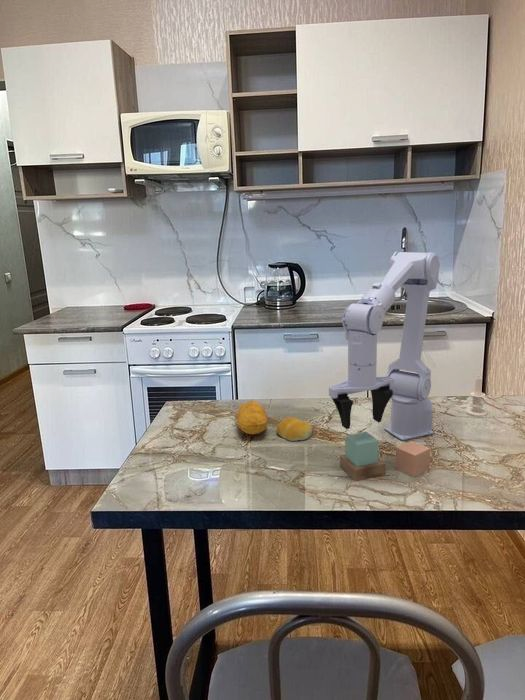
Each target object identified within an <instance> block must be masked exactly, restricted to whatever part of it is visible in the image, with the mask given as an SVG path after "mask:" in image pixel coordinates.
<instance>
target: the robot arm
mask: <svg viewBox="0 0 525 700" xmlns="http://www.w3.org/2000/svg"><path fill="white" fill-rule="evenodd" d="M439 260H440V259H439V256H438V255H437V253H436V252H434V251H433V252H432V251H431V252H416V251H415V252H411V251H410V252H409V251H398V250H397V251H395V252H393V254H392V256H391V257H390V259H389V265H388V266H389V270H388V271H387V272H386V274H385V276H384V277H383V279H382V280H381V281H380V282H379V281H378V282H373V283H372V285H371V286H370V287H369V288H368V289H367V291H366V292H365V293H364V294H363V295H362V297H361V298H360V299H359V300H358V301H357V302H356V303H351V304H350V305H348V306H346V307H345V309H344V312H343V316H342V319H341V321H342V327H343V329H344V332H345V333H344V334H345V335H344V336H345V337H344V338H345V340H346V341H347V380H345V381H343V382H340V383H337V384H334V385H331V386H328V396H329V397H330V398H331V400H332V401H333V403H334V405H335V407H336V409H337V412H338V415H339V418H340V423H341V427H343V428H344V429H346V430H349V429H350V428H351V414H352V406H353V403H354V401H353V400H352V399H350V396H348V395H353V394H357V393H362V392H363V393H364V392H368V391H370V394H371V401H372V420H374V421H376V422H377V423H382V419H383V416H384V413H385V410H386V407H387V405H388V403H389V401H390V399H391V413H390V414H391V416H390V417H391V418H390V425H386V426H383V430H385V431H386V432H387V433H389V434H391V435H392V436H393V437H394V436H395V437H396V438H397V439H398V440H401V441H406V440H411V439H415V438H420V437H425V436H428V435H433V434H435V433H434V432H435V431H434V430H433V429H432V428H433V411H434V410H433V404H432V401H431V399H430V398H429V395H430V393H431V390H432V381H431V379H432V378H431V376H432V373H431V372H432V370H431V369H430V368H429V367H428V366H427V365H426V364H425V363H424V362H423V360H422V359H421V357H422V350H423V343H424V336H425V330H426V329H425V328H426V327H425V326H426V322H427V321H426V320H427V315H428V313H427V312H428V306H429V298H430V293H431V291H433V290H436V289H437V286H438V281H439V274H440V273H439V272H440V261H439ZM400 288H402V289H404V290H405V292H406V293H407V297H406V304H405V311H404V312H405V313H404V321H403V327H402V333H401V334H402V336H401V343H400V350H399V358H397V359H395V360H394V361H392V362H391V363H390V364H388V368H387V371H386V375H385V376H377V361H378V359H377V356H378V354H377V351H378V333H379V332H380V331H381V330H382V326H383V322H384V320H385V318H386V313H387V311H389V309H390V307H391V306H392V305H393V303H394V302H395V301H396V294H395V293H396V292H397V291H398V290H399V289H400Z"/></svg>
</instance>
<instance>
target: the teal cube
mask: <svg viewBox="0 0 525 700" xmlns="http://www.w3.org/2000/svg"><path fill="white" fill-rule="evenodd" d="M344 438H345V439H344V442H345V452H344V453H345V454H344V455H345V457H346V458H347V459H348V460H350V461H351V462H352V463H353V464H354V465H355V466H357V467H360V466H364V465H369V464H373V463H378V458H379V439H377V438H376V437H375V436H373V435H371V434H370V433H368V432H367V431H362V432H357V433H351V434H347V435H345V437H344Z"/></svg>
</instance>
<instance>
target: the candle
mask: <svg viewBox="0 0 525 700" xmlns="http://www.w3.org/2000/svg"><path fill="white" fill-rule="evenodd" d="M482 383H483V378H482V377H481V378H480V377H476V378H475V382H474V391H471V392H470V393H469V395H470V396H471V397H473V398H472V402H471V403H470V405H469V406H470V407H469V408H467V409H465V413H466V415H468V416H470V417H475V418H481V417H486V416H487V414H488V412H487V411H486V410H485V409H483V408H484V404H483V403H482V402H483V398H484V397H486V393H484V392H482V387H483V386H482Z"/></svg>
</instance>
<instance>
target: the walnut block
mask: <svg viewBox="0 0 525 700" xmlns="http://www.w3.org/2000/svg"><path fill="white" fill-rule="evenodd" d="M339 468H341V469H342V470H343V471H344V472H345V473H346V474H347V475H348V476H349V477H350V478H351V479H352V480H353V481H354V482H359V481H364V480H368V479H373V478H377V477H382V476H386V463H385V461H383V460H382V459H380V458H379V457H378V463H373V464H369V465H364V466H360V467H357V466H355V465H354V464H353V463H352V462H351V461H350V460H348V459H347V458H346V457H345V454H341V455H339Z"/></svg>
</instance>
